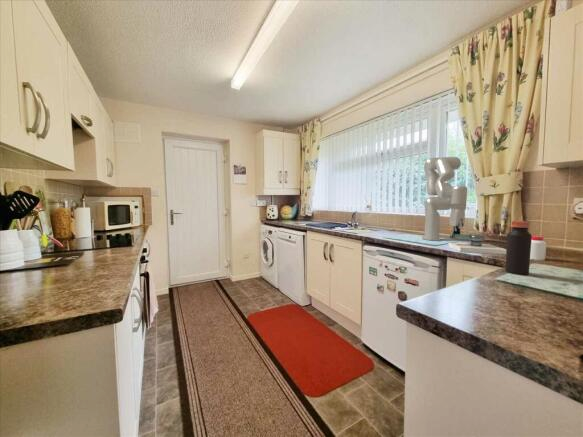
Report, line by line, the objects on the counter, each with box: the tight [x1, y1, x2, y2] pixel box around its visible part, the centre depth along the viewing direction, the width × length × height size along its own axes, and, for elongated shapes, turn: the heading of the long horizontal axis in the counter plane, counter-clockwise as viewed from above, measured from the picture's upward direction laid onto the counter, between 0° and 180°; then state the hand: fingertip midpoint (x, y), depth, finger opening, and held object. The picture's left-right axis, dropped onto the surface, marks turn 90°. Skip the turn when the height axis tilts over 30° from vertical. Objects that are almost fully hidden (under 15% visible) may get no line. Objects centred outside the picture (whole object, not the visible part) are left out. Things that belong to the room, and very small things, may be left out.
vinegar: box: [504, 220, 533, 276], centre depth 93 cm, size 7×7×20 cm
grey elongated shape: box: [449, 232, 486, 246], centre depth 140 cm, size 17×8×6 cm, turn 72°
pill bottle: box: [530, 235, 547, 261], centre depth 118 cm, size 8×8×11 cm
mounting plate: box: [448, 242, 507, 255], centre depth 139 cm, size 17×22×3 cm
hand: (456, 237), depth 144 cm, fingers closed
